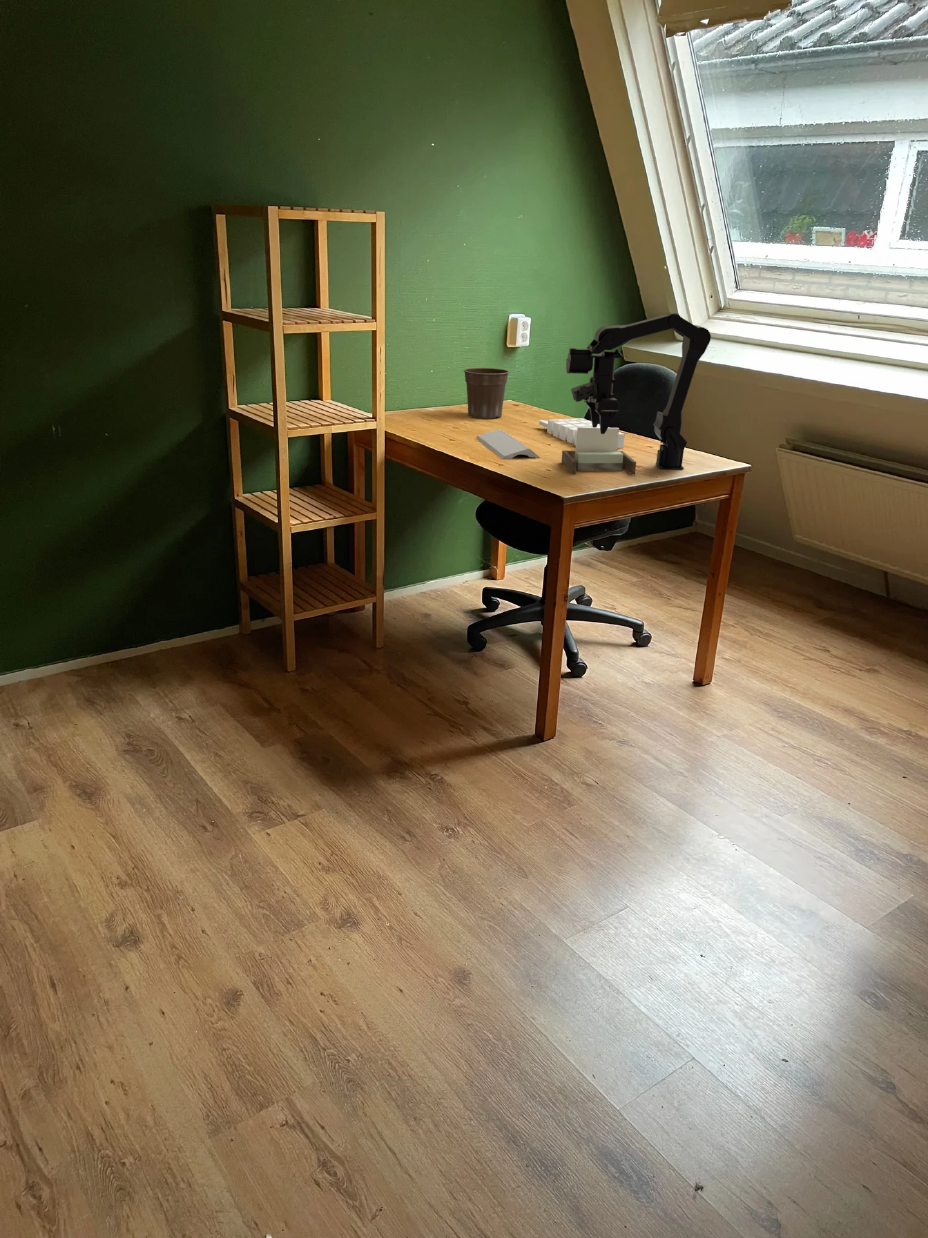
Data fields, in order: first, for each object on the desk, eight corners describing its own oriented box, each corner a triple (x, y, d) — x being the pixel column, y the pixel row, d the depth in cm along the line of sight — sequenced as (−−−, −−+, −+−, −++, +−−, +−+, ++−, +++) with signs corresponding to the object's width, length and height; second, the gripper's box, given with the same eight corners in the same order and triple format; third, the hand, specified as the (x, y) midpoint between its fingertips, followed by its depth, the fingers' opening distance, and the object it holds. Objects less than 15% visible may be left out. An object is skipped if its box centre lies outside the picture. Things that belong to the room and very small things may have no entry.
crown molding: (475, 439, 291) (475, 428, 290) (511, 439, 294) (511, 428, 293) (502, 461, 265) (503, 449, 264) (541, 460, 268) (542, 448, 267)
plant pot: (458, 411, 333) (459, 366, 326) (501, 411, 336) (503, 367, 329) (466, 420, 318) (468, 373, 312) (511, 420, 321) (513, 373, 315)
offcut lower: (618, 468, 260) (618, 460, 259) (621, 471, 257) (622, 462, 256) (574, 468, 259) (574, 460, 258) (577, 471, 255) (578, 463, 254)
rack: (621, 462, 266) (622, 450, 264) (635, 474, 253) (636, 462, 252) (561, 462, 264) (562, 450, 262) (572, 474, 251) (573, 461, 249)
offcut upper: (618, 460, 259) (619, 451, 258) (622, 462, 256) (623, 454, 255) (574, 460, 257) (575, 451, 256) (578, 463, 254) (578, 454, 253)
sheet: (614, 465, 262) (618, 427, 258) (615, 466, 261) (619, 428, 257) (574, 465, 261) (577, 427, 256) (574, 466, 260) (578, 427, 256)
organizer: (588, 435, 278) (536, 415, 308) (586, 451, 280) (535, 429, 309) (624, 433, 283) (570, 413, 312) (623, 449, 285) (569, 427, 314)
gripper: (567, 369, 258) (563, 423, 265) (582, 378, 241) (578, 437, 248) (605, 369, 260) (600, 424, 266) (623, 379, 243) (617, 437, 249)
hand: (598, 430), depth 257 cm, fingers open, 9 cm apart
